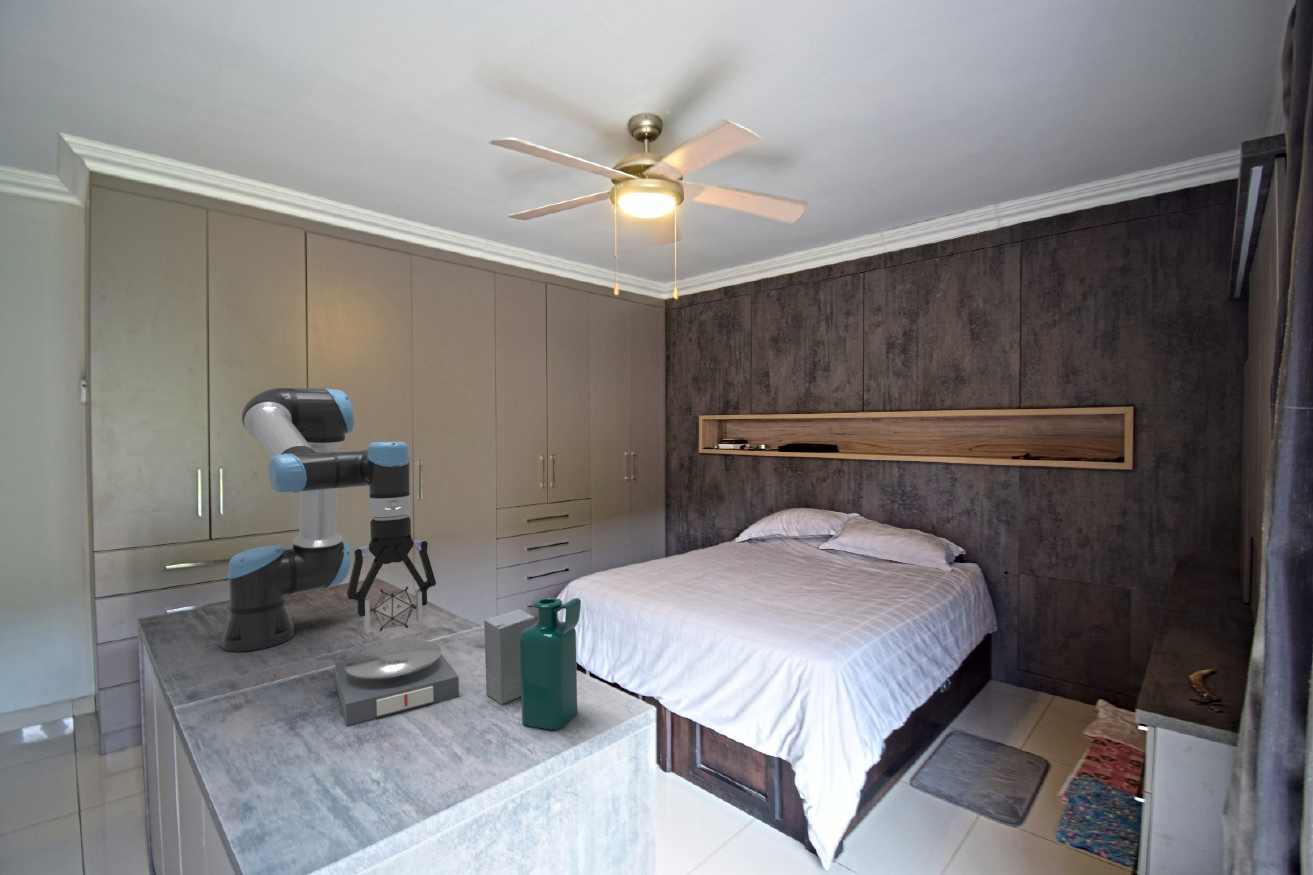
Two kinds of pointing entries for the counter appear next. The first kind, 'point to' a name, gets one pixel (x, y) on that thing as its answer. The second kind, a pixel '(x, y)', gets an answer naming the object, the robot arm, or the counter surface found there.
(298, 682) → the counter surface
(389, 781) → the counter surface
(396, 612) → the game die
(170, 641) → the counter surface
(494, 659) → the skincare box
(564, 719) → the pitcher
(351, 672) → the pan
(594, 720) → the counter surface
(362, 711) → the scale
